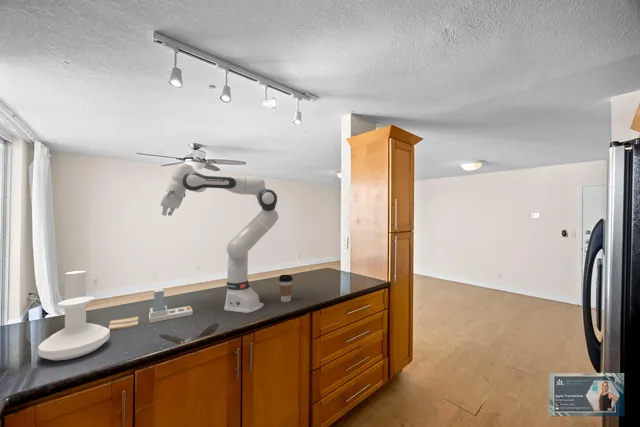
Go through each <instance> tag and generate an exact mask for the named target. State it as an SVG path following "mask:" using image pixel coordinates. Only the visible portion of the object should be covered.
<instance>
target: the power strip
mask: <svg viewBox="0 0 640 427" xmlns="http://www.w3.org/2000/svg"><path fill="white" fill-rule="evenodd" d="M193 310H194V309H193V308H192V307H191V305H187V306H182V307H176V308H171V309H168V306H167V305H164V310H162V311H156V312H154V307H150V308H149V313H148V322H149V323H150V324H151V323H155V322H161V321H166V320H167V321H168V320H172V319H177V318H178V319H179V318H184V317H189V316H193V315H194V314H193V313H194V311H193Z"/></svg>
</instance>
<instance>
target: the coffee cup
mask: <svg viewBox="0 0 640 427" xmlns="http://www.w3.org/2000/svg"><path fill="white" fill-rule="evenodd" d="M293 280H294V279H293V276H292V275H290V274H281V275H279V279H278V281H279V293H280V301H281V302H282V303H288V302H291V299H292V290H293Z"/></svg>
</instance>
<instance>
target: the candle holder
mask: <svg viewBox="0 0 640 427" xmlns="http://www.w3.org/2000/svg"><path fill="white" fill-rule="evenodd" d="M94 299H95V296H86V297H78V298H72V299H68V300H65V299H64V300H62V301H60V302H58V303H57V305H58V306H60V307H63V308H64V309H65V308H67V317H66V327H65V326H64V327H63V328H62V329H60V330H58V331H57V332H55V333H53V334H52V335H50V336H48V337H47V338H46V339H45V340H43V341H42V342H41V343H40V344H39V345H38V346H37V355H38V356H39V357H40V358H43V359H46V360H51V361H57V362H58V361H63V360H64V361H66V360H71V359H75V358H79V357H82V356H84V355H88V354H90V353H92V352H94V351H96V350H98V349H99V348H100V347H101V346H102V345H104V343H106V342H107V341H109V339H110V336H111V331H110V329H108V328H107V327H106V326H103V325H101V324H95V323H92V322H91V323H90V322H87V305H88V304H90V303H91V302H92V301H93V300H94Z"/></svg>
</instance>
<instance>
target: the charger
mask: <svg viewBox="0 0 640 427" xmlns="http://www.w3.org/2000/svg"><path fill="white" fill-rule="evenodd" d="M164 292H165V290H164V288H157V289H154V290H153V308H154V312H156V311H162V310H164V306H165V305H164V304H165V301H164V300H165V299H164V297H165V296H164Z"/></svg>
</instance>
